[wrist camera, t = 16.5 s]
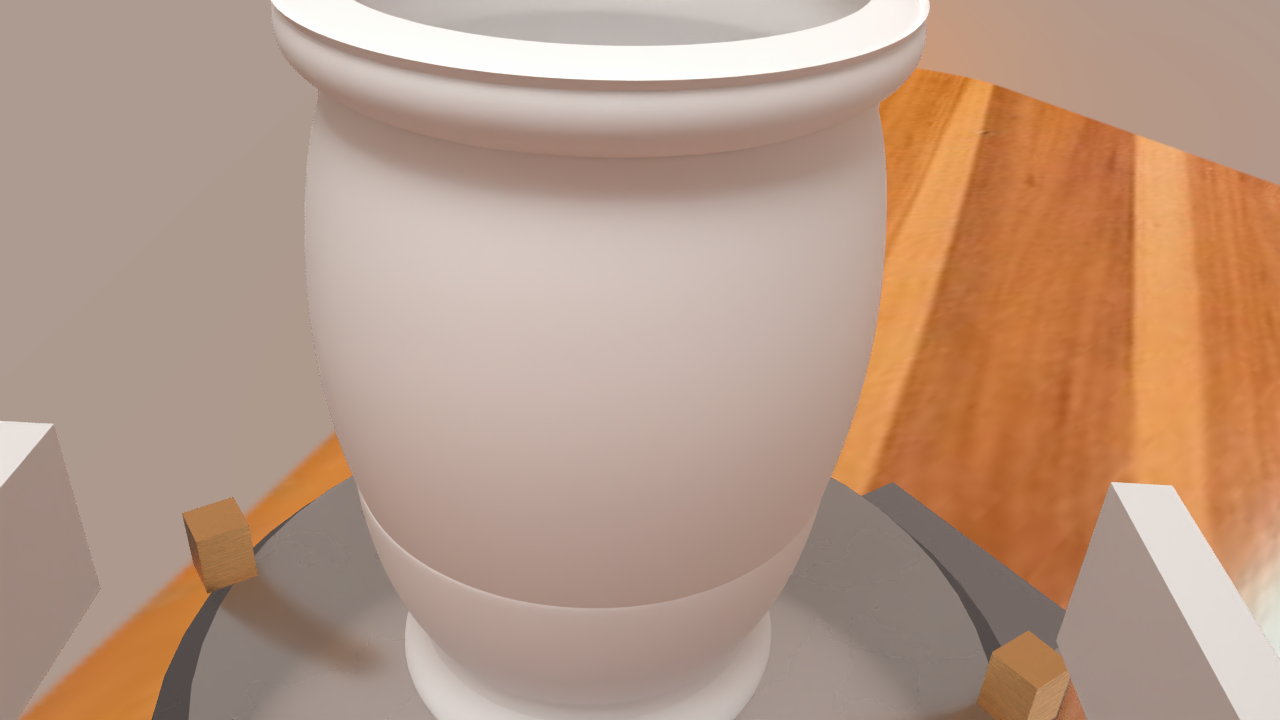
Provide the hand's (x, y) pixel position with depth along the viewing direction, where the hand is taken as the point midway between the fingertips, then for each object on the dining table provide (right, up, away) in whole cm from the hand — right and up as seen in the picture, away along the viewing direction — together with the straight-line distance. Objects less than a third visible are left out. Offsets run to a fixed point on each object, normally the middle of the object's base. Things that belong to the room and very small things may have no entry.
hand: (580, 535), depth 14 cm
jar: (0, -4, +12) cm, 12 cm away
